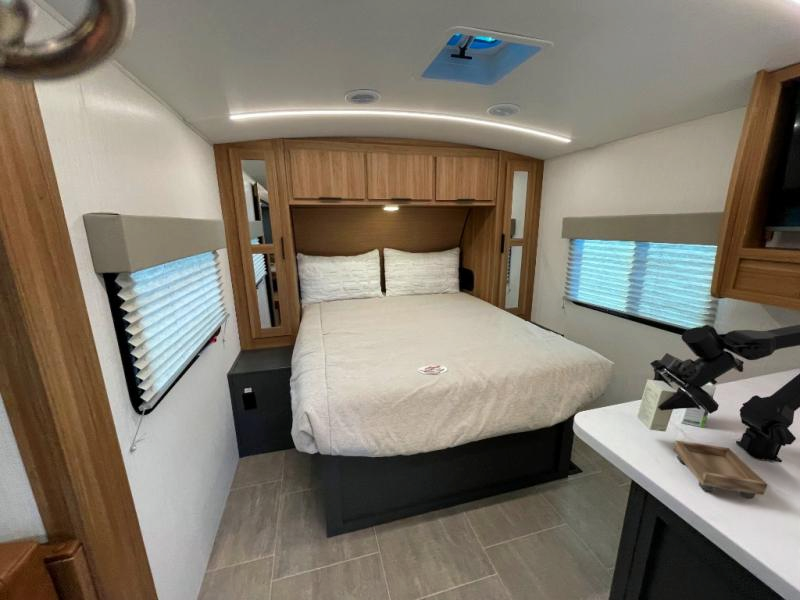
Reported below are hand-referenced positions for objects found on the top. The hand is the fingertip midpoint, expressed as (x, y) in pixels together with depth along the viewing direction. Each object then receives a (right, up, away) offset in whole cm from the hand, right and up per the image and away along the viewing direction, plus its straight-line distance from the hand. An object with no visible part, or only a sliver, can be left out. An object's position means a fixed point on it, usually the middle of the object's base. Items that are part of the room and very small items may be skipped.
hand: (651, 401), depth 87 cm
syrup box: (+22, -10, +14) cm, 28 cm away
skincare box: (+1, -7, +2) cm, 7 cm away
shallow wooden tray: (+8, -16, -9) cm, 20 cm away
